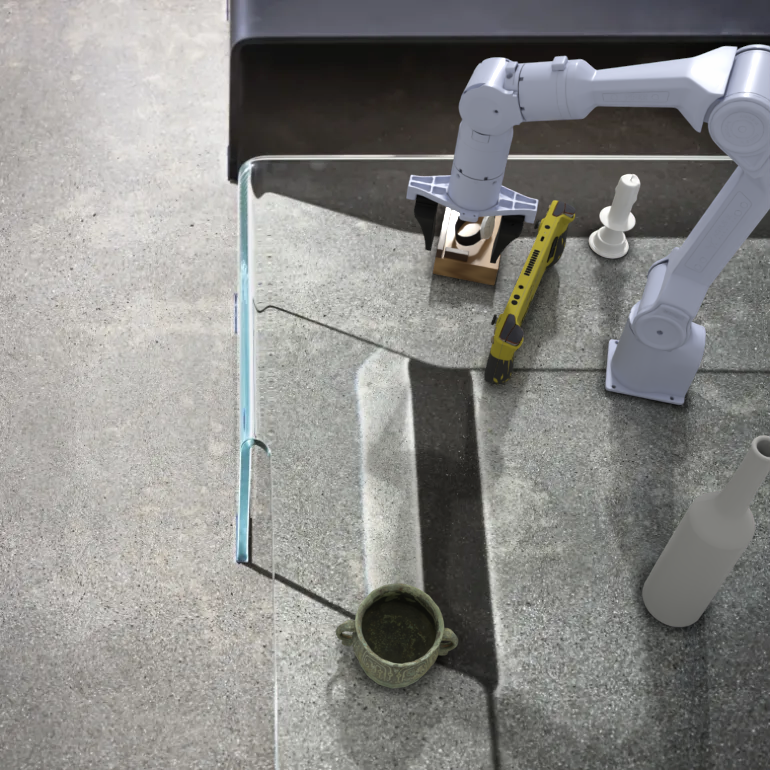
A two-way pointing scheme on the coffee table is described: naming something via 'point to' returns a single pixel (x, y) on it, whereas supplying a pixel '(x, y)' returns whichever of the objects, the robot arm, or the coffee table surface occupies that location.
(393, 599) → the vessel
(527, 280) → the yellow power tool
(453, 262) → the shelf
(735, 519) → the bottle
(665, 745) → the coffee table surface
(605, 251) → the candle
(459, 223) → the watch
